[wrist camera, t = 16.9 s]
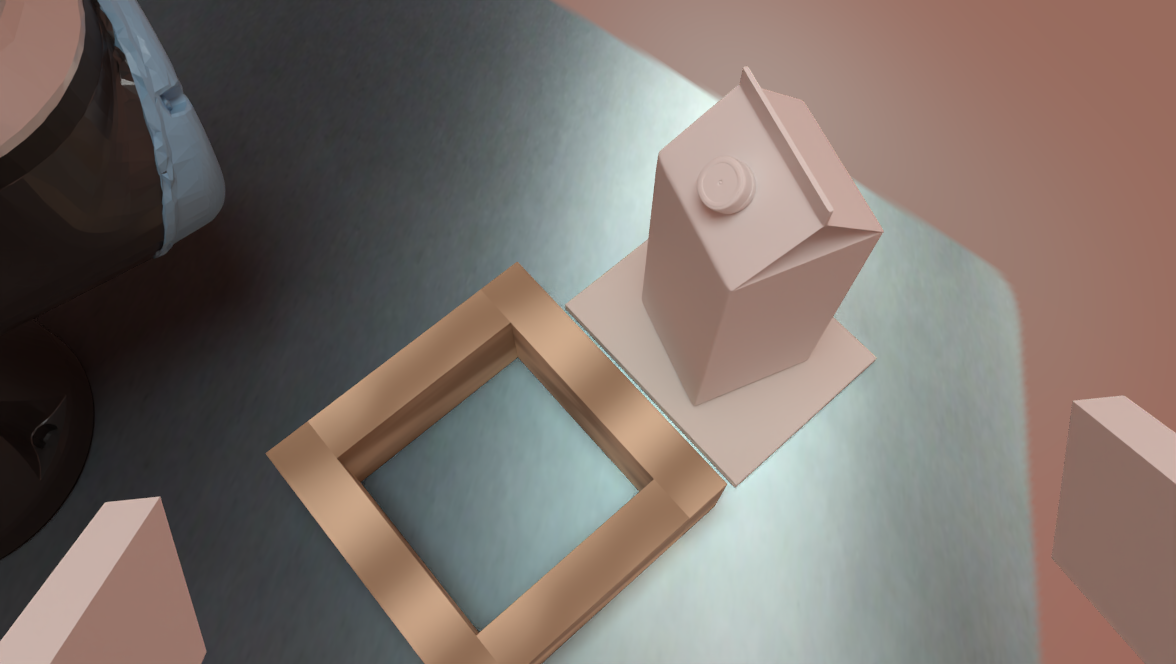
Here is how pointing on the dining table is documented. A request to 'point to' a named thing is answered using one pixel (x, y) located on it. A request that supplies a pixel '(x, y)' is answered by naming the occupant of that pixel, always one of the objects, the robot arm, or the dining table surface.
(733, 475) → the pink mat
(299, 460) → the frame
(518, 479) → the dining table surface
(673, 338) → the milk carton
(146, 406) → the dining table surface
